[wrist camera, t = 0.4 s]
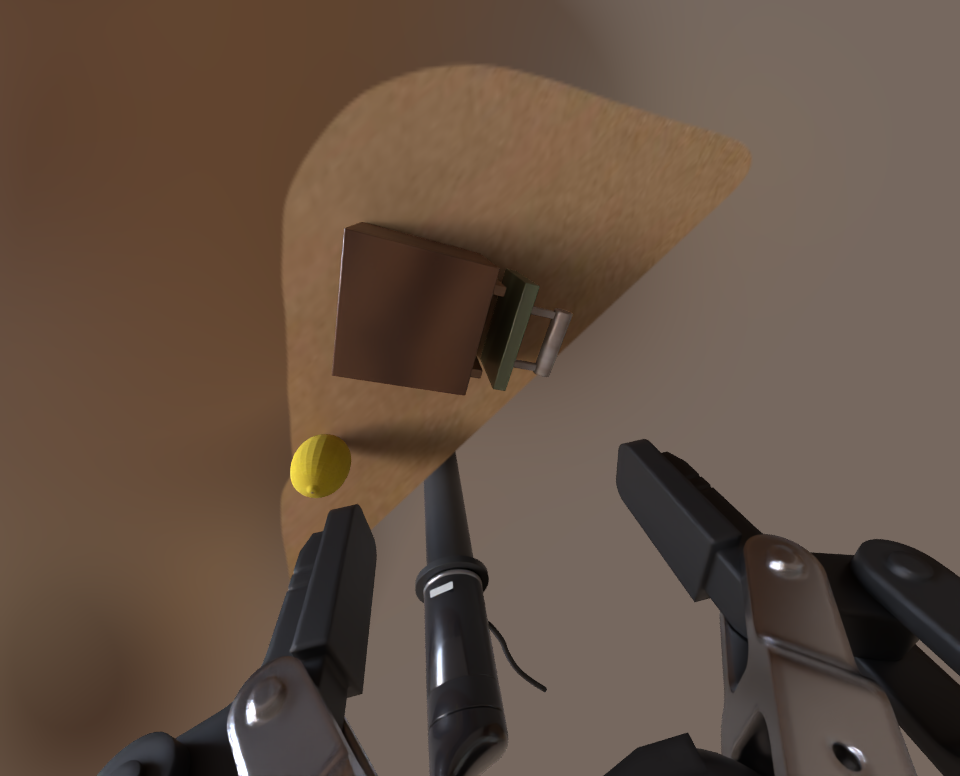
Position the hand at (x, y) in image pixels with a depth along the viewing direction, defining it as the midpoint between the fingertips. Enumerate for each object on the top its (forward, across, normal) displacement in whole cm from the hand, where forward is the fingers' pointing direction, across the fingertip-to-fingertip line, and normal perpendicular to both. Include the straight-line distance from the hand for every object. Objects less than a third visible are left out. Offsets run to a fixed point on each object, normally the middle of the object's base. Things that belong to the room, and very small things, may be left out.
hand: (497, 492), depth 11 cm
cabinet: (+26, -2, 0) cm, 26 cm away
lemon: (+27, -15, -14) cm, 34 cm away
